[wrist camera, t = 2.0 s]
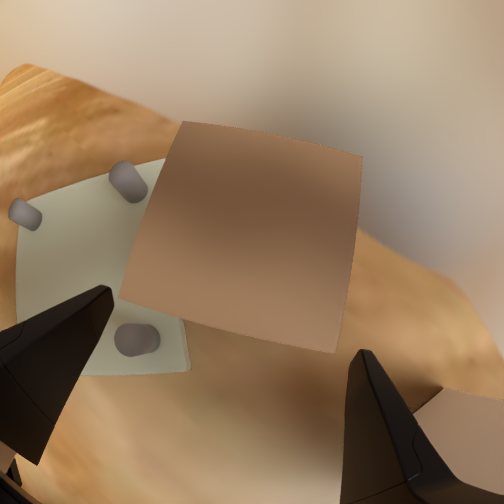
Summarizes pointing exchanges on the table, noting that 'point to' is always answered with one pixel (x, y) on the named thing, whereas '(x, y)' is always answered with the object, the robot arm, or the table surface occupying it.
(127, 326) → the peg stand
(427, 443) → the robot arm
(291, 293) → the walnut block
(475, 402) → the milk carton
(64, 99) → the table surface
